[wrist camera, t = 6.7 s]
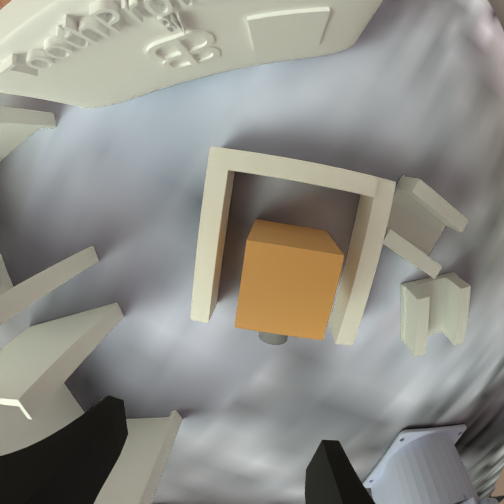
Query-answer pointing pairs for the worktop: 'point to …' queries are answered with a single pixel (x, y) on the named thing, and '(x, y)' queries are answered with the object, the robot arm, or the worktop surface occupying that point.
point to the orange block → (288, 281)
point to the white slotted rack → (66, 360)
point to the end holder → (369, 187)
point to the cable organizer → (160, 42)
